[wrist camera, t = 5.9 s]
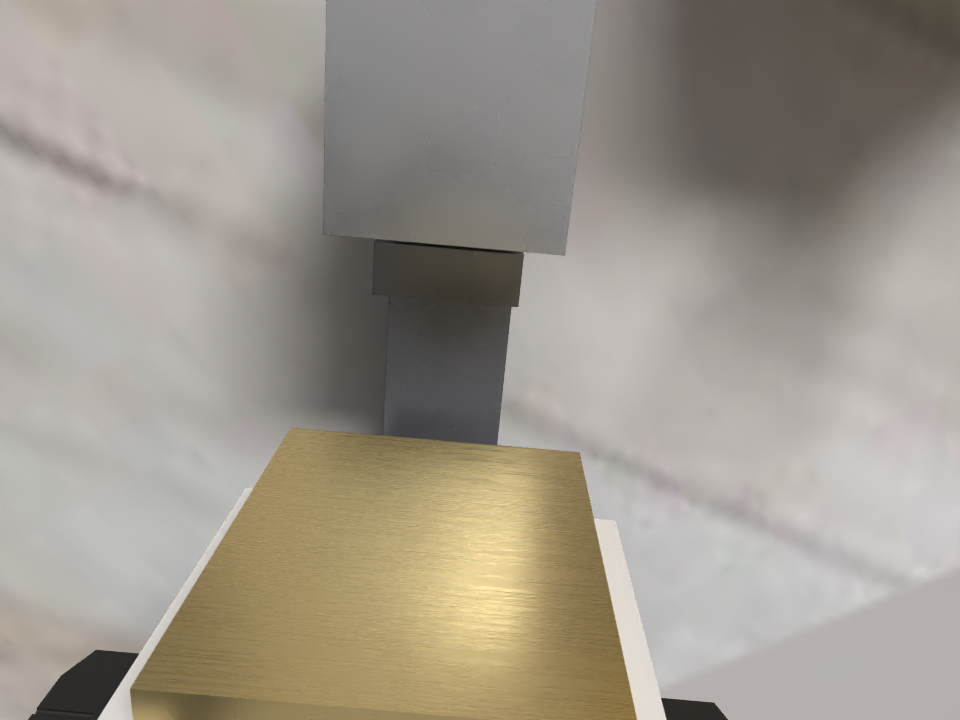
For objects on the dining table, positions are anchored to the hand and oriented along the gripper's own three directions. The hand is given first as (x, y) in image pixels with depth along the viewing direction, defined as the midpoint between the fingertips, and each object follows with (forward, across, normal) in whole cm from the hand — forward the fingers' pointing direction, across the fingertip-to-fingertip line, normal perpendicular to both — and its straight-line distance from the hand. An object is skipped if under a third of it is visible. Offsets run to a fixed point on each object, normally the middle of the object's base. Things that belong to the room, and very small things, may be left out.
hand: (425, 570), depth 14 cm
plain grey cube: (+10, 0, +8) cm, 13 cm away
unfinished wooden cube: (0, 0, 0) cm, 0 cm away
